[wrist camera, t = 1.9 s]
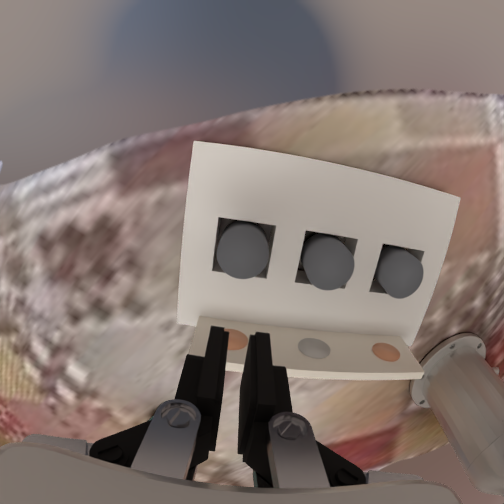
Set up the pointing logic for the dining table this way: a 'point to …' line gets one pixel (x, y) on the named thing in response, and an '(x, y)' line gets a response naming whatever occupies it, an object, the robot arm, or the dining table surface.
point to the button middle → (327, 261)
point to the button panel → (288, 255)
